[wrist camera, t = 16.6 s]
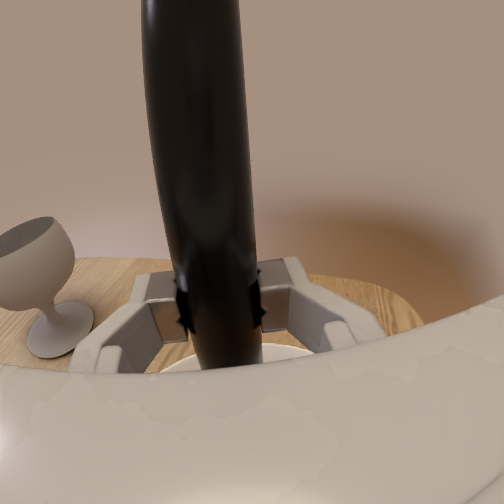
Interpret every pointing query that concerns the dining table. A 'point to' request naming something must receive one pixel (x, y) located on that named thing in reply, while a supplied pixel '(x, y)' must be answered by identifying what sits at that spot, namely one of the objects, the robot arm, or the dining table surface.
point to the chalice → (42, 285)
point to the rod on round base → (204, 171)
